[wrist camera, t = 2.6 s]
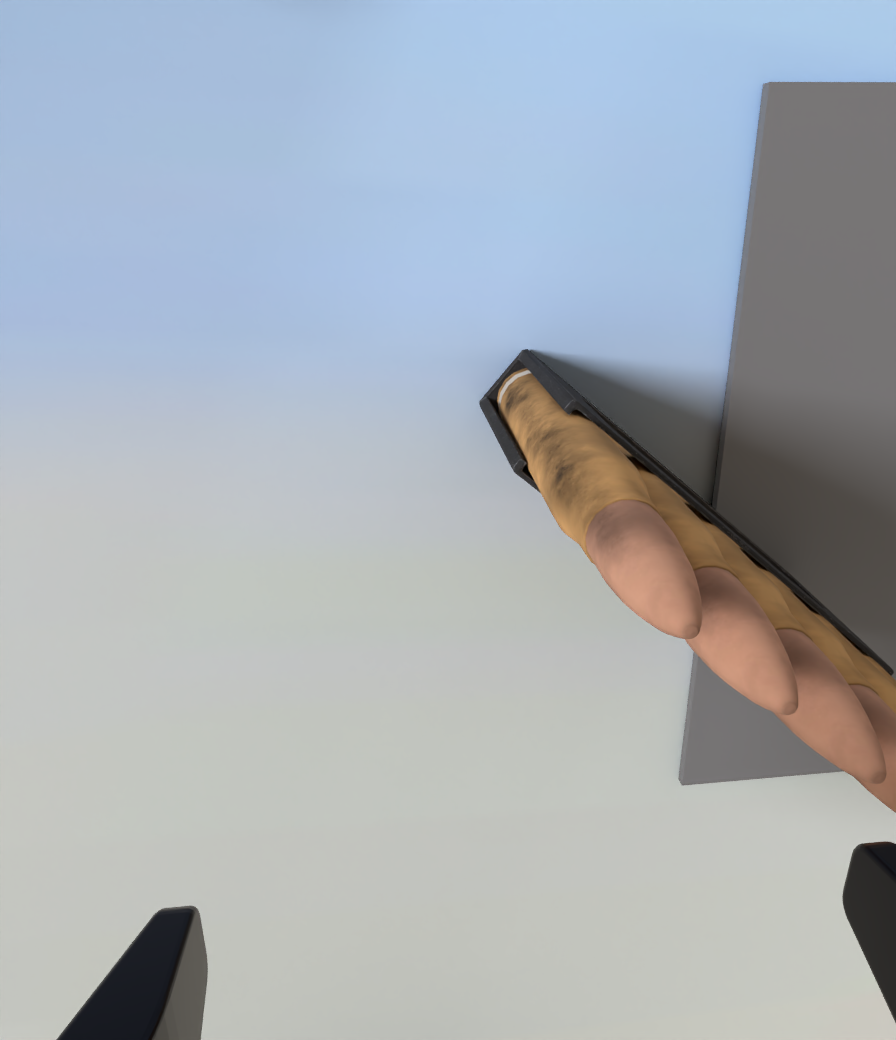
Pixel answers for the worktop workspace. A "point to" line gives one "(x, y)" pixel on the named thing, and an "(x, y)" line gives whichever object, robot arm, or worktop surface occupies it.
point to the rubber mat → (810, 396)
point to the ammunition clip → (698, 574)
